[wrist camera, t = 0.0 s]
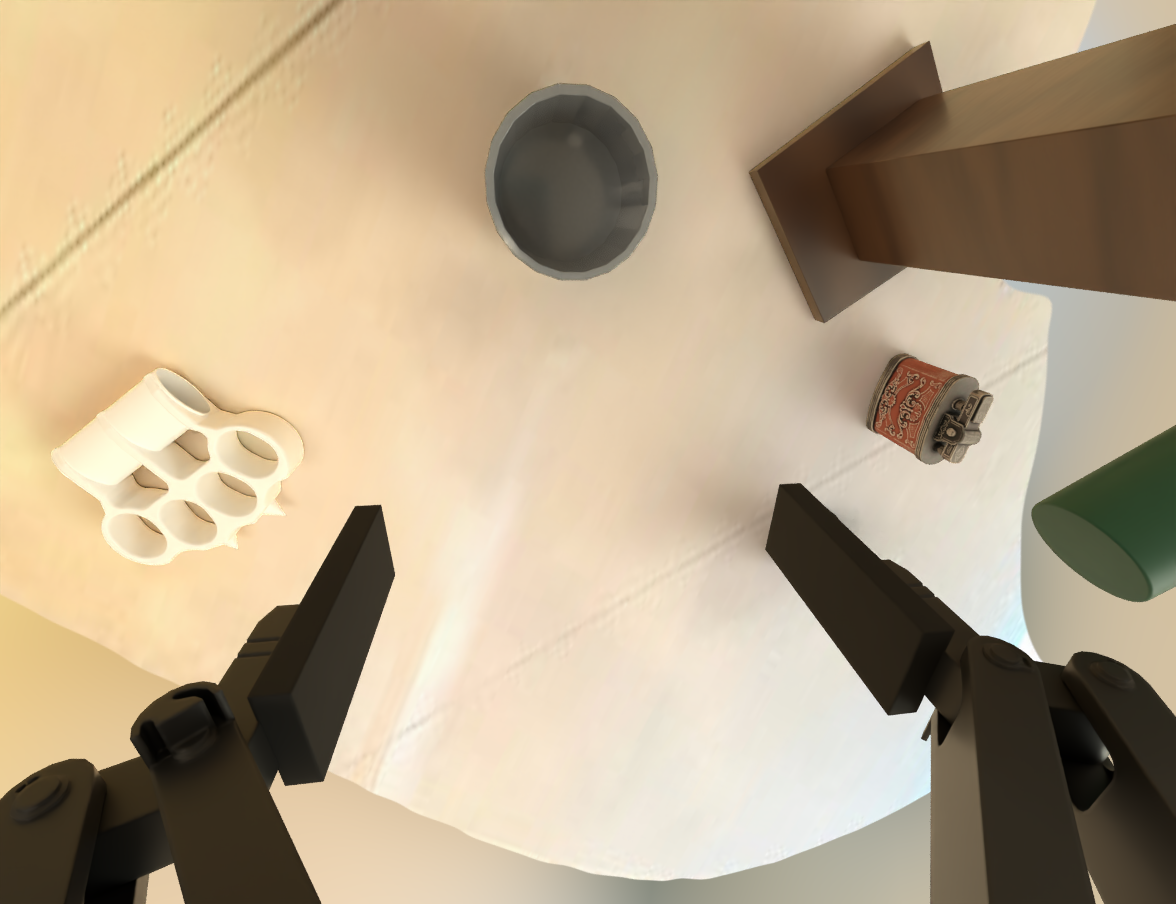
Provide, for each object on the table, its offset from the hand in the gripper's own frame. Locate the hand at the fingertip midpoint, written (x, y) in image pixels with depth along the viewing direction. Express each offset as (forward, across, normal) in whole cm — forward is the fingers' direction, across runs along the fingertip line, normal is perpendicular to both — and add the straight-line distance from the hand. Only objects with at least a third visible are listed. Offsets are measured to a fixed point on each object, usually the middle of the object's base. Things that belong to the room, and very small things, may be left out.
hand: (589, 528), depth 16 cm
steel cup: (+28, +1, +11) cm, 30 cm away
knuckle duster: (+28, -30, -11) cm, 43 cm away
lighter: (+28, +34, -6) cm, 44 cm away
